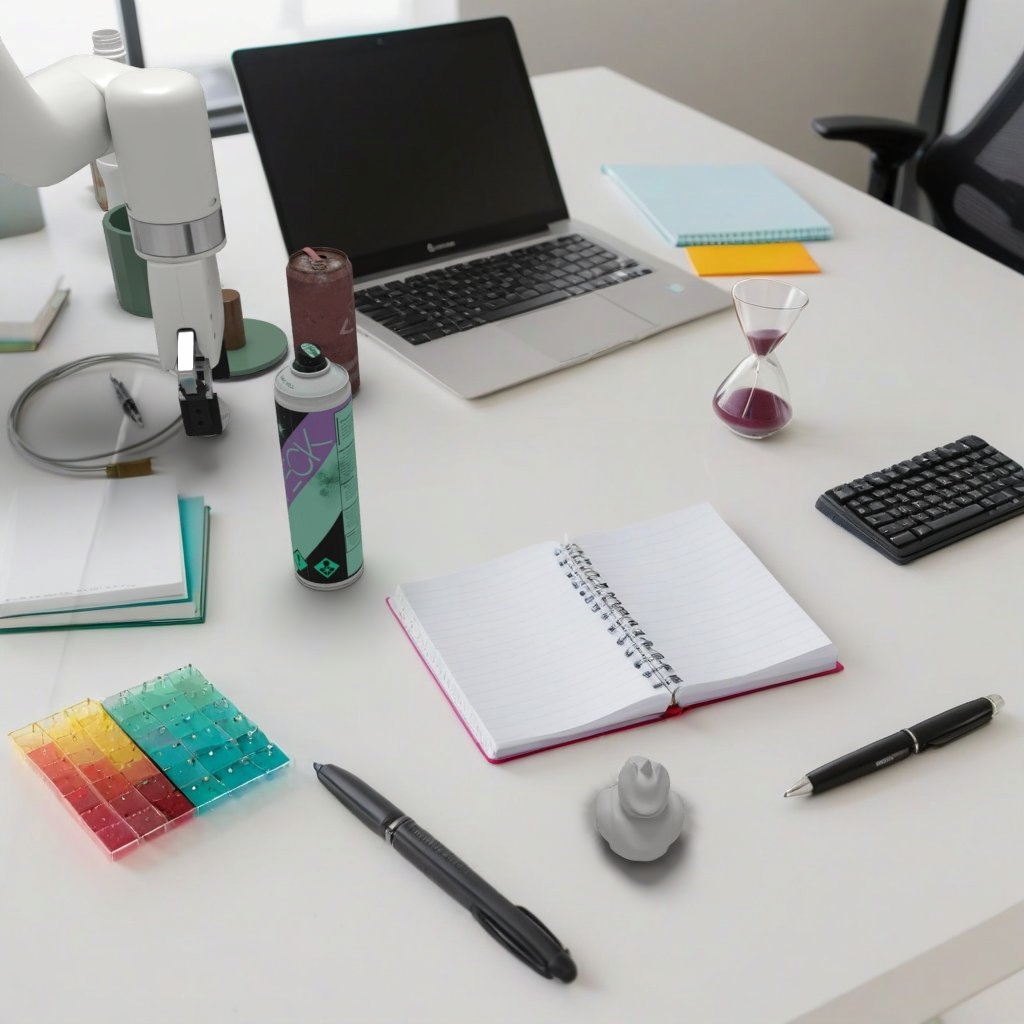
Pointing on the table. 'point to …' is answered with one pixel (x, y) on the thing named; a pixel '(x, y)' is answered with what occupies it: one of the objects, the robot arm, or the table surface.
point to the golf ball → (223, 413)
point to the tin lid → (249, 338)
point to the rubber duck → (640, 811)
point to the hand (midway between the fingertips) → (209, 405)
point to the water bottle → (112, 49)
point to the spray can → (319, 469)
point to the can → (324, 306)
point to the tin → (126, 263)
